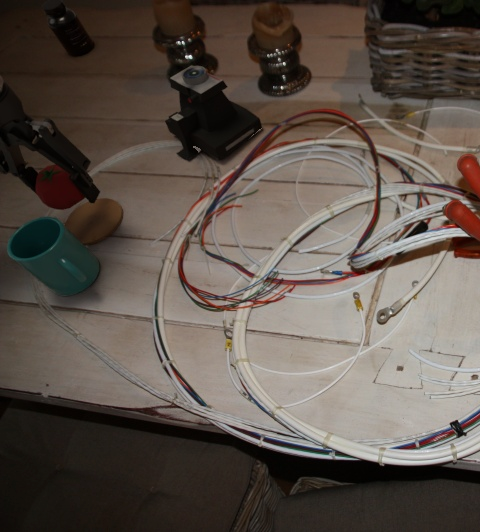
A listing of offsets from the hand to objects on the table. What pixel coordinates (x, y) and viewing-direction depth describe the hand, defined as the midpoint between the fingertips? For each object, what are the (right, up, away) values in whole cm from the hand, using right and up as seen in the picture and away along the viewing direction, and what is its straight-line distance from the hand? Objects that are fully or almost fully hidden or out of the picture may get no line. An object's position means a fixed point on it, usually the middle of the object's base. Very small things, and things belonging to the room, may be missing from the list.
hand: (72, 197), depth 98 cm
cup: (+3, -15, -2) cm, 15 cm away
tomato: (0, 0, 0) cm, 0 cm away
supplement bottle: (-22, +43, +41) cm, 63 cm away
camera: (+20, +15, +17) cm, 30 cm away
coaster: (+1, -4, +6) cm, 7 cm away
